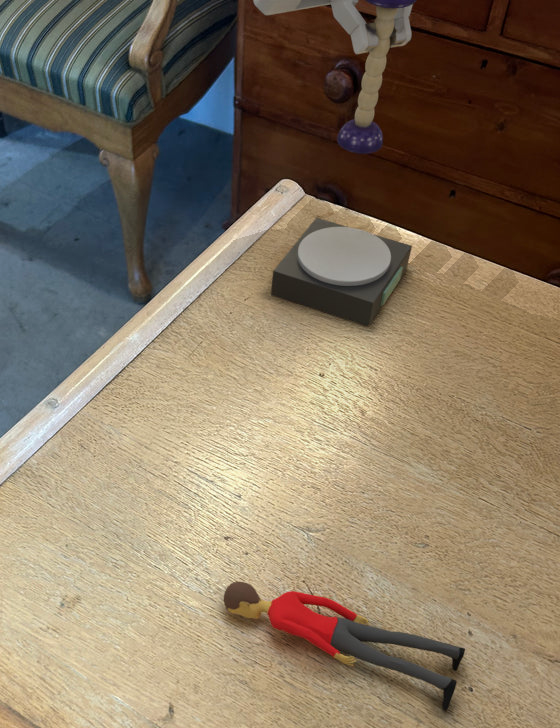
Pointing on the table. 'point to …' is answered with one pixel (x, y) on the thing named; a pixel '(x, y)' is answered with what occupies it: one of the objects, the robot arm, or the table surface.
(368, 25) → the robot arm
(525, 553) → the table surface
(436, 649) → the person figure
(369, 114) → the toy lamp
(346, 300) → the kitchen scale
